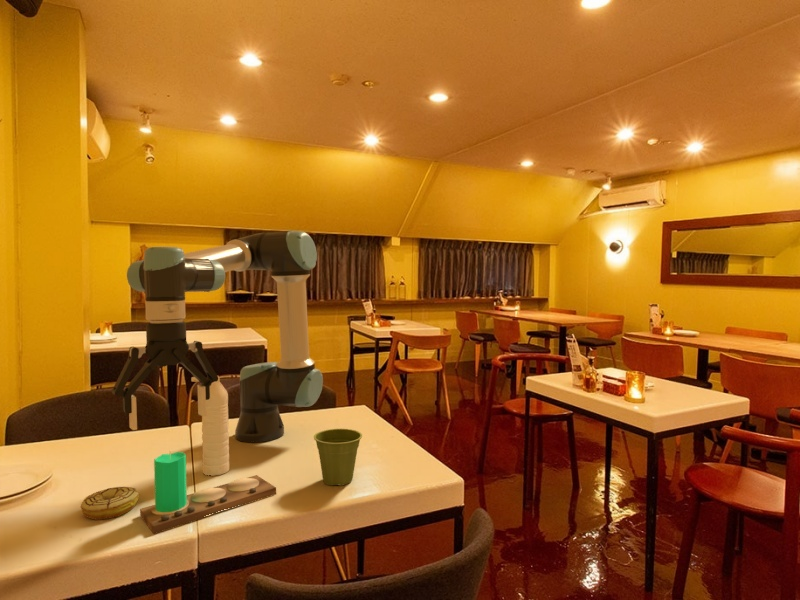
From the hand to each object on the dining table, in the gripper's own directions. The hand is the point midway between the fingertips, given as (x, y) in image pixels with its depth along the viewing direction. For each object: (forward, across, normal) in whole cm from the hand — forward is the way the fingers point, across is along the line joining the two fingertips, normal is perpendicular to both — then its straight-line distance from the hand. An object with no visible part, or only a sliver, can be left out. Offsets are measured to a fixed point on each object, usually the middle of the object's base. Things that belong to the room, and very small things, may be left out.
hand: (169, 421), depth 101 cm
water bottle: (+20, +15, +17) cm, 30 cm away
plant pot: (+20, +36, -10) cm, 42 cm away
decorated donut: (+20, -9, +11) cm, 25 cm away
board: (+20, +8, -2) cm, 21 cm away
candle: (+18, 0, 0) cm, 18 cm away
